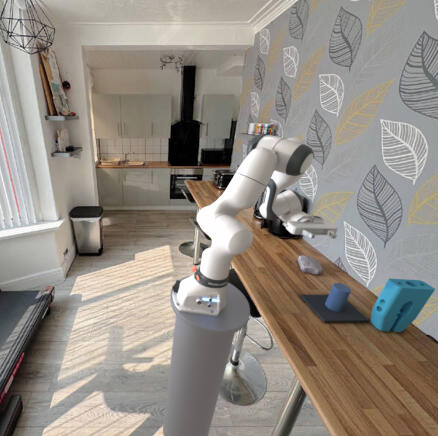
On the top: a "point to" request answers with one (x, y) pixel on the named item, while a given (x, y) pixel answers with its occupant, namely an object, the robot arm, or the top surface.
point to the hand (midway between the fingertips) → (324, 236)
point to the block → (400, 304)
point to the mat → (328, 315)
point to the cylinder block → (338, 297)
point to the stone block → (309, 265)
